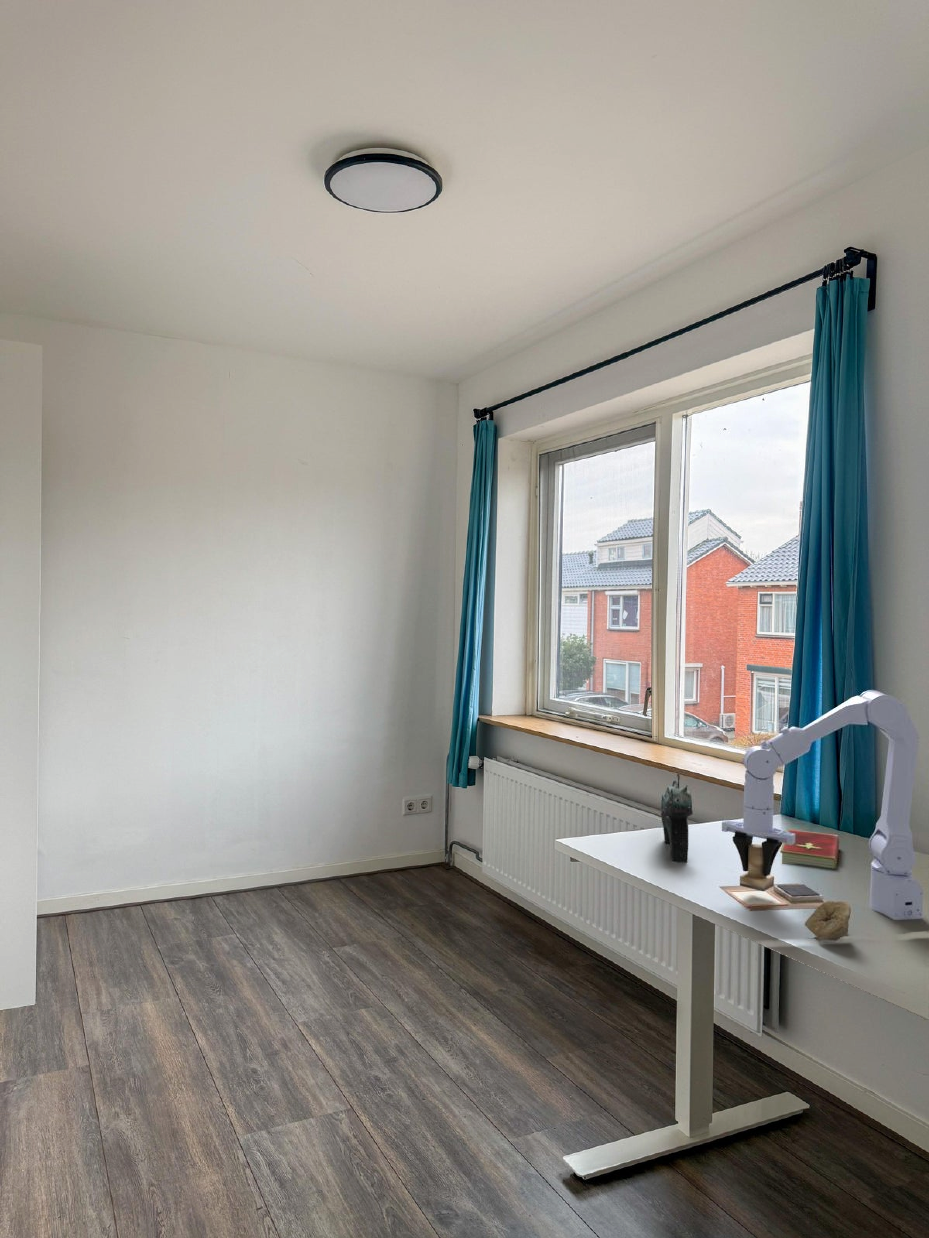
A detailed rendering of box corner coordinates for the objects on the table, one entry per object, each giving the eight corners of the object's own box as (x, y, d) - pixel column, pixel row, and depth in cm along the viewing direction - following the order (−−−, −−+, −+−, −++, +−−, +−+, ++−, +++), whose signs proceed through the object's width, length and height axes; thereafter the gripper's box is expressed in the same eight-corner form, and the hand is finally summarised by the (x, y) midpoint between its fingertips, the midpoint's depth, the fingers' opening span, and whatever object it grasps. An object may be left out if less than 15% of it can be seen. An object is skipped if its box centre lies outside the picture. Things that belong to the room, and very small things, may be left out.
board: (835, 911, 171) (835, 906, 171) (750, 915, 168) (750, 910, 168) (797, 887, 185) (797, 883, 185) (718, 891, 182) (718, 886, 182)
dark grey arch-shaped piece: (693, 864, 200) (695, 779, 199) (664, 863, 201) (666, 778, 200) (681, 840, 220) (683, 762, 219) (655, 839, 220) (657, 761, 220)
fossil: (822, 894, 164) (857, 902, 155) (838, 911, 164) (873, 919, 155) (794, 930, 162) (828, 939, 152) (810, 947, 162) (844, 957, 152)
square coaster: (788, 905, 172) (788, 904, 172) (745, 906, 170) (745, 905, 170) (765, 889, 181) (765, 888, 181) (725, 891, 179) (725, 890, 179)
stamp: (773, 885, 176) (774, 846, 176) (763, 891, 172) (764, 851, 172) (750, 879, 179) (751, 841, 179) (739, 885, 176) (740, 846, 175)
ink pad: (823, 900, 175) (823, 894, 175) (791, 902, 174) (791, 896, 173) (804, 888, 182) (804, 883, 181) (773, 890, 180) (773, 884, 180)
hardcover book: (838, 850, 214) (839, 834, 214) (835, 875, 195) (836, 856, 195) (787, 844, 219) (788, 827, 219) (779, 867, 200) (780, 849, 200)
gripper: (801, 809, 173) (799, 875, 174) (732, 796, 183) (730, 860, 183) (788, 815, 168) (786, 884, 168) (718, 802, 177) (716, 867, 178)
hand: (756, 872), depth 175 cm, fingers closed on stamp, 4 cm apart
